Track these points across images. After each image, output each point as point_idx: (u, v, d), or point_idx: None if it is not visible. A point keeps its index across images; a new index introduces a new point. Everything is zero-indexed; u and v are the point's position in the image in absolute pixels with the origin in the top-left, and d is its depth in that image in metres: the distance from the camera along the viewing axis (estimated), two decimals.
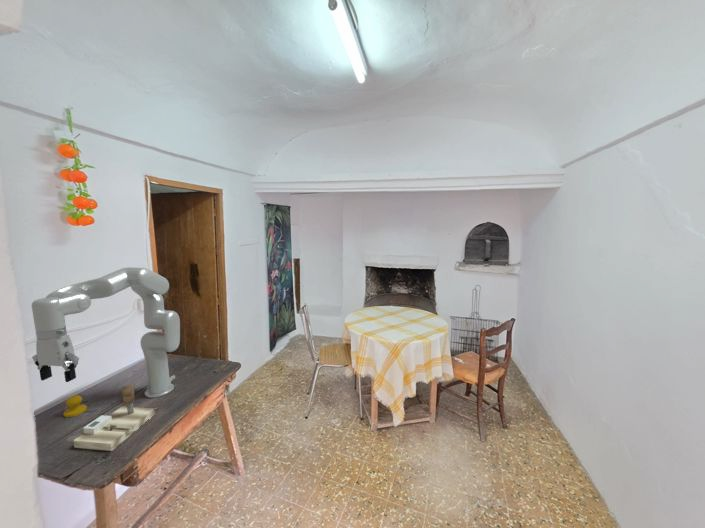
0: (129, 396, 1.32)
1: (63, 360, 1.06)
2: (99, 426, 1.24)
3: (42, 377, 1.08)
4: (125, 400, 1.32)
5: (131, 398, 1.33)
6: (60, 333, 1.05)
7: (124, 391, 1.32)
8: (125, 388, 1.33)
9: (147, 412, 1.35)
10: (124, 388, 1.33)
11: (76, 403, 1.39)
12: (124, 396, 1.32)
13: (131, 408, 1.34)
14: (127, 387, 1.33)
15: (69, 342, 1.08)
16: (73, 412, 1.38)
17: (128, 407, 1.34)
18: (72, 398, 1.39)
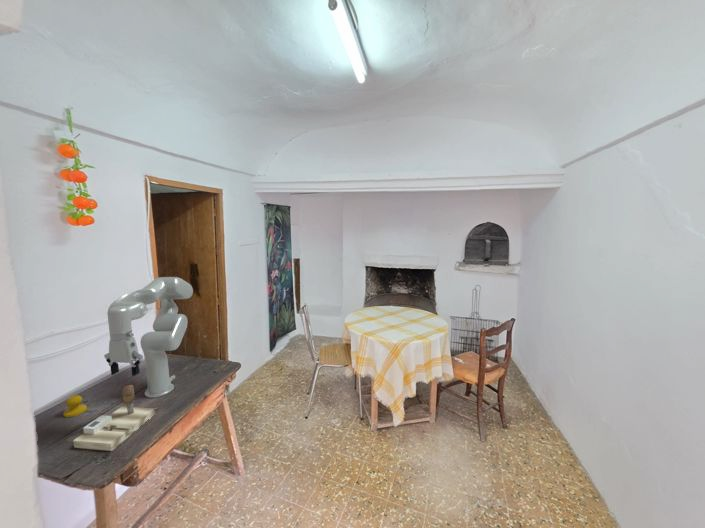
0: (129, 396, 1.33)
1: (131, 358, 1.29)
2: (99, 426, 1.24)
3: (112, 372, 1.31)
4: (125, 400, 1.32)
5: (131, 398, 1.33)
6: (129, 335, 1.29)
7: (124, 391, 1.32)
8: (125, 388, 1.33)
9: (147, 412, 1.35)
10: (124, 388, 1.33)
11: (76, 403, 1.39)
12: (124, 396, 1.32)
13: (131, 408, 1.34)
14: (127, 387, 1.34)
15: (135, 343, 1.31)
16: (73, 412, 1.38)
17: (128, 407, 1.34)
18: (72, 398, 1.39)
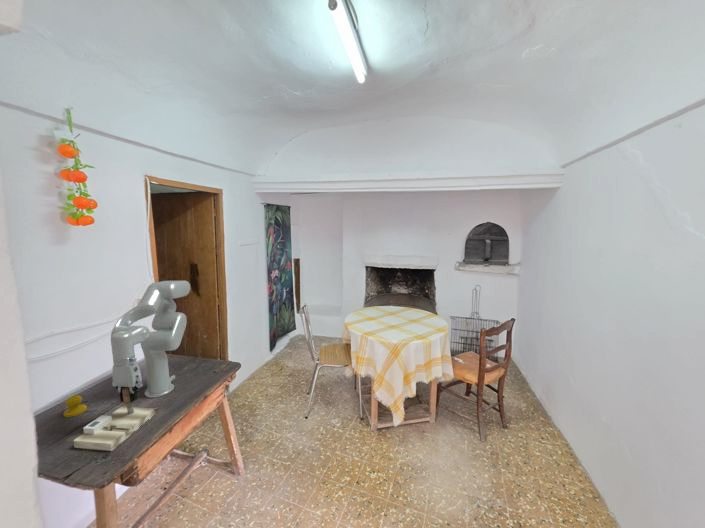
0: (129, 396, 1.32)
1: (133, 385, 1.31)
2: (99, 426, 1.24)
3: (121, 399, 1.33)
4: (125, 400, 1.32)
5: None
6: (132, 361, 1.30)
7: (124, 391, 1.32)
8: (125, 388, 1.33)
9: (147, 412, 1.35)
10: (124, 388, 1.33)
11: (76, 403, 1.39)
12: (124, 396, 1.32)
13: (131, 408, 1.34)
14: (127, 387, 1.33)
15: (138, 367, 1.33)
16: (73, 412, 1.38)
17: (128, 407, 1.34)
18: (72, 398, 1.39)
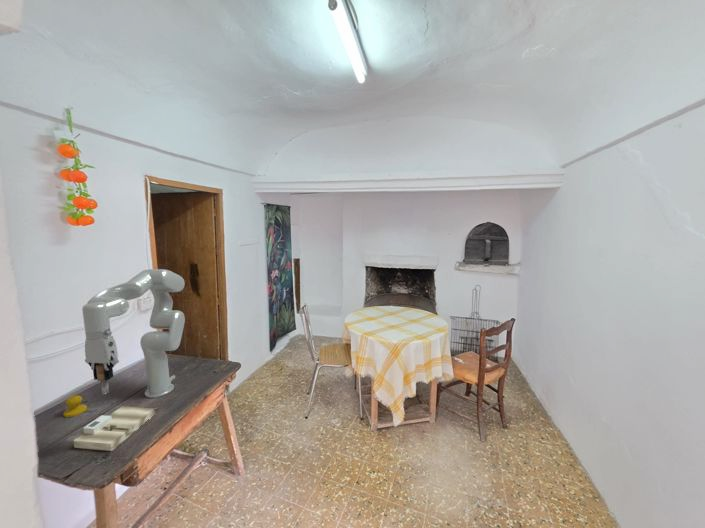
0: (103, 374, 1.20)
1: (107, 361, 1.19)
2: (99, 426, 1.24)
3: (95, 377, 1.21)
4: (99, 378, 1.20)
5: None
6: (106, 334, 1.18)
7: (98, 368, 1.19)
8: (99, 365, 1.21)
9: (147, 412, 1.35)
10: (98, 365, 1.21)
11: (76, 403, 1.39)
12: (98, 373, 1.20)
13: (106, 387, 1.22)
14: (101, 364, 1.21)
15: (113, 342, 1.21)
16: (73, 412, 1.38)
17: (102, 386, 1.21)
18: (72, 398, 1.39)
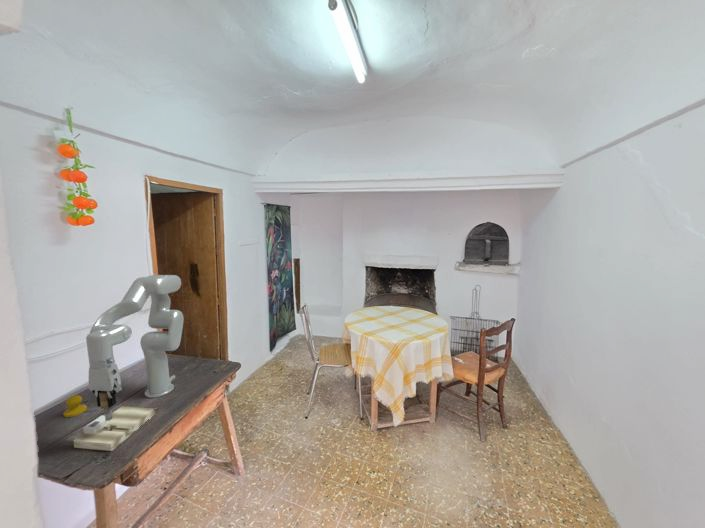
0: (107, 401, 1.22)
1: None
2: (99, 426, 1.24)
3: (99, 404, 1.22)
4: (102, 405, 1.22)
5: None
6: (110, 362, 1.20)
7: (101, 395, 1.21)
8: (102, 392, 1.22)
9: (147, 412, 1.35)
10: (101, 392, 1.22)
11: (76, 403, 1.39)
12: (101, 401, 1.21)
13: (109, 414, 1.24)
14: (105, 391, 1.23)
15: (116, 370, 1.23)
16: (73, 412, 1.38)
17: (106, 413, 1.23)
18: (72, 398, 1.39)
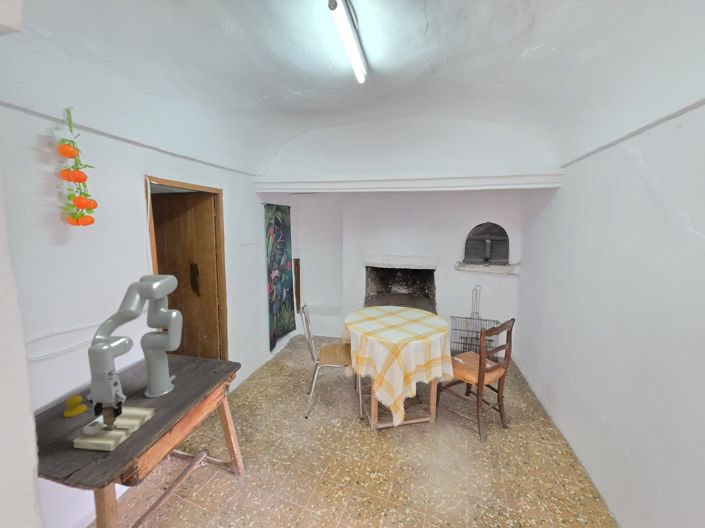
0: (109, 418, 1.23)
1: (113, 399, 1.21)
2: (99, 426, 1.24)
3: (96, 413, 1.23)
4: (105, 422, 1.23)
5: (112, 420, 1.24)
6: (111, 375, 1.21)
7: (104, 412, 1.22)
8: (105, 409, 1.23)
9: (147, 412, 1.35)
10: (104, 409, 1.23)
11: (76, 403, 1.39)
12: (104, 417, 1.22)
13: None
14: (108, 407, 1.24)
15: (118, 382, 1.23)
16: (73, 412, 1.38)
17: (108, 429, 1.24)
18: (72, 398, 1.39)
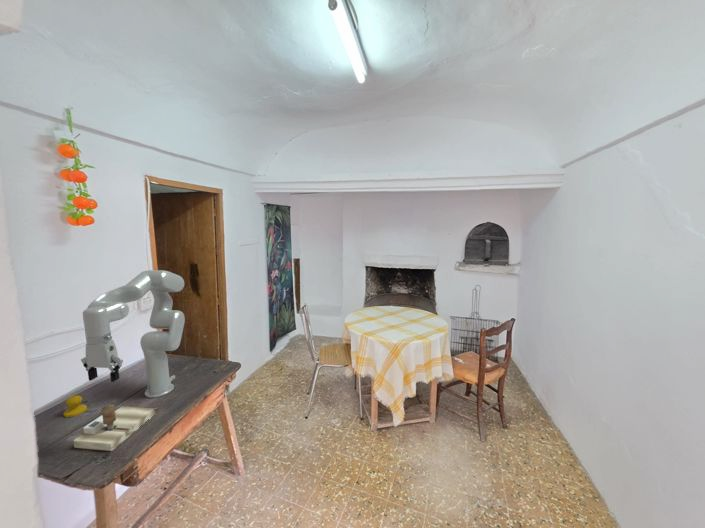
0: (109, 417, 1.23)
1: (109, 362, 1.19)
2: (99, 426, 1.24)
3: (90, 378, 1.21)
4: (105, 421, 1.23)
5: (111, 419, 1.24)
6: (107, 338, 1.19)
7: (104, 412, 1.22)
8: (105, 408, 1.23)
9: (147, 412, 1.35)
10: (104, 408, 1.23)
11: (76, 403, 1.39)
12: (104, 417, 1.23)
13: None
14: (107, 407, 1.24)
15: (114, 346, 1.21)
16: (73, 412, 1.38)
17: (108, 429, 1.24)
18: (72, 398, 1.39)
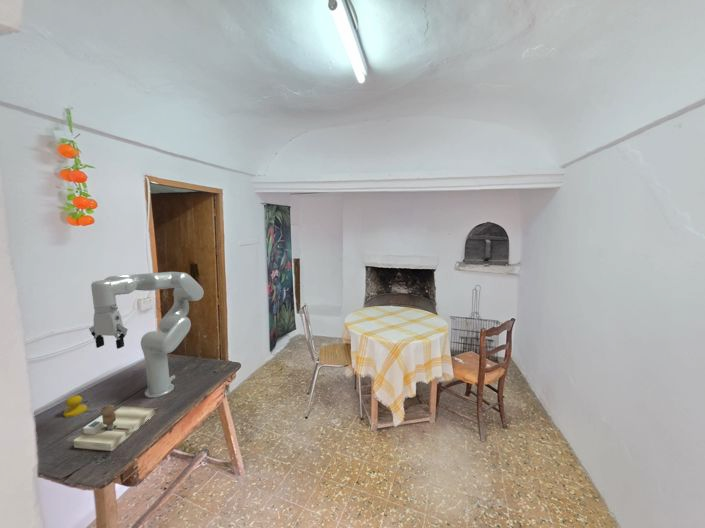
0: (109, 417, 1.23)
1: (115, 330, 1.31)
2: (99, 426, 1.24)
3: (97, 345, 1.33)
4: (105, 421, 1.23)
5: (111, 419, 1.24)
6: (113, 308, 1.30)
7: (104, 412, 1.22)
8: (105, 408, 1.23)
9: (147, 412, 1.35)
10: (104, 408, 1.23)
11: (76, 403, 1.39)
12: (104, 417, 1.23)
13: None
14: (107, 407, 1.24)
15: (119, 316, 1.33)
16: (73, 412, 1.38)
17: (108, 429, 1.24)
18: (72, 398, 1.39)
